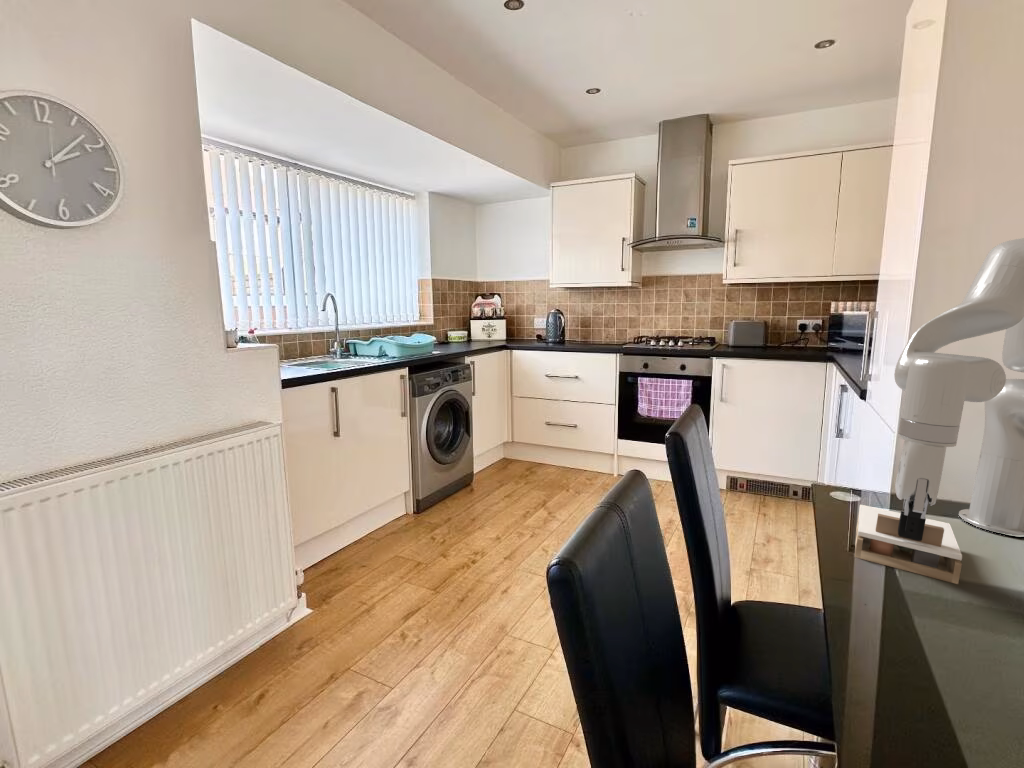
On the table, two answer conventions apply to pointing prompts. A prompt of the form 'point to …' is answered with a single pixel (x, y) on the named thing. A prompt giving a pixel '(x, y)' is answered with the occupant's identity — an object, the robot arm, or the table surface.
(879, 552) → the glossy peach egg
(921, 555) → the charcoal block
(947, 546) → the sliding lid
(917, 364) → the robot arm
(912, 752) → the table surface
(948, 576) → the oak box
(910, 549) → the sage ball
